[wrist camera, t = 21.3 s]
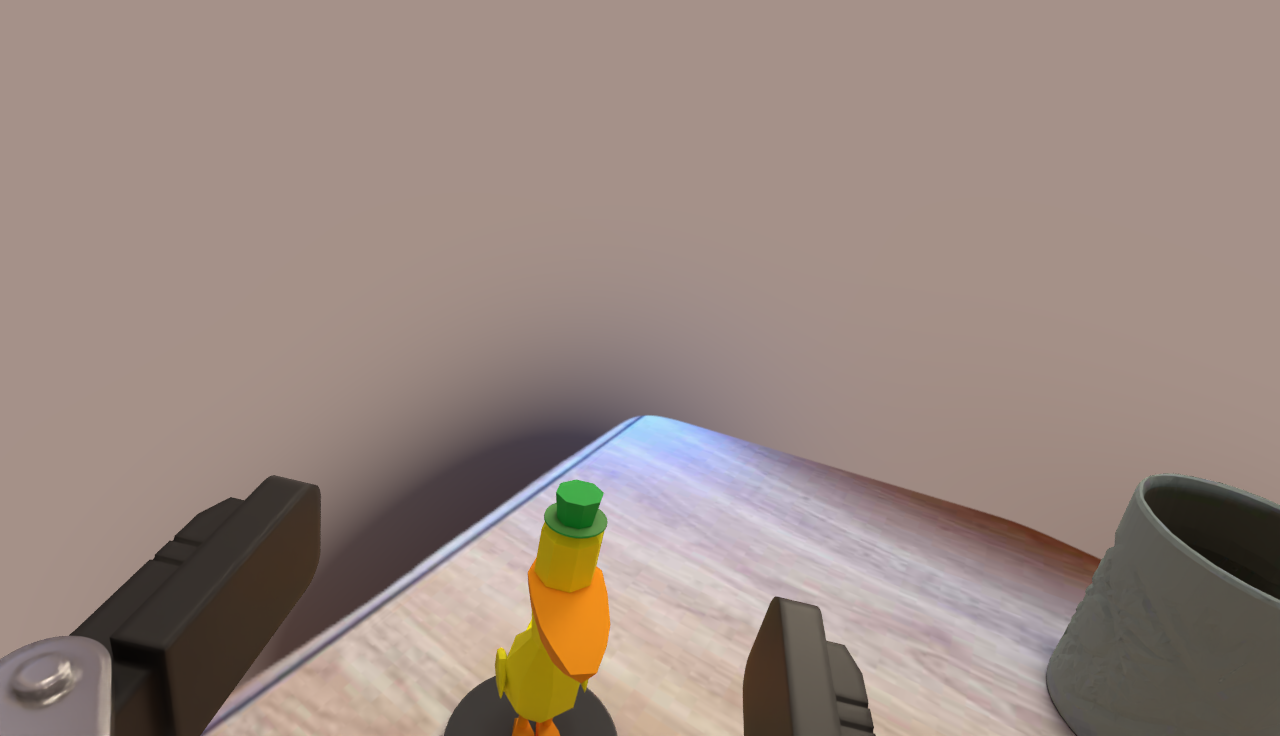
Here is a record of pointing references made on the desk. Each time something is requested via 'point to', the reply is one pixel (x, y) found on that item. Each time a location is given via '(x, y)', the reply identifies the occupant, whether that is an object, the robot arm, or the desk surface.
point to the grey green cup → (1178, 619)
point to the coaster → (488, 720)
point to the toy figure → (559, 614)
